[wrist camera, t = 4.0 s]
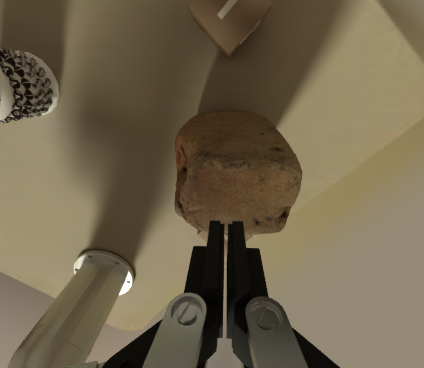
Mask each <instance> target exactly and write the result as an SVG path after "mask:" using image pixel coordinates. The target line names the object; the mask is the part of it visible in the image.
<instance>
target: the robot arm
mask: <svg viewBox="0 0 424 368" xmlns="http://www.w3.org/2000/svg"><path fill="white" fill-rule="evenodd" d="M224 232H225V224H221V221H216V220H210V224H209V232H208V240H207V246H194V247H193V250H192V255H191V260H190V265H189V270H188V275H187V280H186V285H185V290H184V293H183V294H180V295H178V296H176V297H175V298H174V299H173V300H172V301H171V302H170V304H169V306H168V308H167V310H166V313H165V315H164V318H163V319H162V320H160V321H159V322H158V323H156V324H155V325H154V326H152V327H151V328H150V329H148V330H147V331H146V332H144V333H143V334H142V335H140V336H139V337H138V338H136V339H135V340H134V341H132V342H131V343H129V344H128V345H127V346H126V347H124V348H123V349H121V350H120V351H119V352H117V353H116V354H115V355H113V356H112V357H111V358H110V359H109V360H108V361H107V362H104V363H99V364H98V362H97V361H94V362H89V363H85V361H86V359H87V357H88V356H89V354H90V352H91V350H92V348H93V346H94V344H95V341H96V339H97V338H98V336H99V334H100V331H101V330H102V328H103V326H104V324H105V322H106V320H107V318H108V316H109V314H110V312H111V310H112V308H113V306H114V304H115V302H116V300H117V298H118V296H119V295H121V294H124V293H125V292H127V291H128V290H129V289H130V288H131V286H132V284H133V281H134V274H133V271H132V268H131V267H130V266H129V264H128V263H127V262H126V261H125V260H124V259H122V258H121V257H119V256H117V255H116V254H113V253H111V252H107V251H102V250H91V251H87V252H85V253H83V254H82V255H80V256H79V257H78V259H77V260H76V261H75V263H74V267H73V269H74V274H75V275H74V276H73V278H72V279H71V280H70V281H69V283H68V284H67V285H66V287H65V288H64V289H63V290H62V292H61V293H60V294H59V296H58V297H57V298H56V299H55V301H54V302H53V303H52V305H51V306H50V307H49V309H48V310H47V311H46V312H45V314H44V315H43V316H42V317H41V319H40V320H39V321H38V323H37V324H36V325H35V326H34V328H33V329H32V330H31V332H30V333H29V334H28V335H27V337H26V338H25V340H23V342H22V343H21V345H20V346H19V347H18V348H17V350H16V351H15V353H14V354H13V356H12V358H11V360H10V362H9V365H8V368H207V363H208V359H209V358H210V357H211V356H212V355H213V354H214V353H215V352H216V348H217V338H222V336H223V335H222V334H223V289H224V287H223V286H224ZM227 338H229V339H232V348H233V353H234V354H235V355H236V356H237V357H238V358H239V359H240V361H241V367H242V368H340V367H339V366H338V365H336V364H335V363H334V362H333V361H332V360H330V359H329V358H328V357H327V356H326V355H324V354H323V353H322V352H321V351H320V350H318V349H317V348H316V347H315V346H314V345H313V344H311V343H310V342H309V341H308V340H306V339H305V338H304V337H303V336H302V335H300V334H299V333H298V332H297V331H296V330H295V329H293V328H292V327H291V325H290V322H289V320H288V317H287V315H286V313H285V311H284V309H283V307H282V306H281V305H280V304H279V303H278V302H277V301H275V300H273V299H272V298H269V297H268V293H267V288H266V281H265V276H264V271H263V266H262V260H261V255H260V250H259V249H258V248H246V242H245V234H244V225H243V221H232V224H228V242H227Z"/></svg>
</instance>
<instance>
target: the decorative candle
mask: <svg viewBox="0 0 424 368" xmlns="http://www.w3.org/2000/svg"><path fill="white" fill-rule="evenodd" d="M8 52H9V53H7V52H6V50H4V49H3V48H1V47H0V122H3V123H8V122H10V121H11V120H12V119H13V120H15V121H18V120H20V119H23V118H25V119H29V118H32V117H39V116H41V115H44V114H48V113H51V112H52V111H53V110H54V109H55V108H56V107H57V106H58V102H59V98H60V91H59V85H58V82H57V80H56V78H55V76H54V74H53V72H52V70H51V69H50V68H49V67H48V66H47V65H46V64H45V62H44V61H43V60H42V59H40V58H38V57H36V56H35V55H33V54H31V53H29V52H22V51H14V50H13V49H9V51H8Z"/></svg>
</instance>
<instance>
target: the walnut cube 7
mask: <svg viewBox="0 0 424 368" xmlns="http://www.w3.org/2000/svg"><path fill="white" fill-rule="evenodd" d="M273 4H274V3H273V2H272V1H271V0H191V1H190V3H189V4H188V5H187V8H188V9H189V11H190V13H191V15H192V17H193V18H194V20H195V22H196V23H197V24H198V25H199V26H200V27H201V28H202V30H203V31H204V32H205V33H206V34H207V35H208V37H209V38H210V39H211V40H212V41H213V42H214V43H215V45H216V46H217V47H218V48H219V49H220V50H221V52H222V53H223V54H224V55H225V56H226V57H227V58H228V59H229V58H230V57H231V56H232V55H233V54H234V53H235V51H236V50H237V49H238V48H239V47H240V46H241V45H242V43H243V42H244V41H245V40H246V39H247V38H248V37H249V36H250V34H251V33H253V32H254V31H255V30H256V29H257V27H258V25H259V24H260V23H261V22H262V21H263V20H264V18H265V17H266V15H267V13H268V12H269V10H270V9H271V7H272V5H273Z"/></svg>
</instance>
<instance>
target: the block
mask: <svg viewBox="0 0 424 368" xmlns="http://www.w3.org/2000/svg"><path fill="white" fill-rule="evenodd" d="M175 151H176V167H177V182H176V192H175V211H176V213H177V214H178V215H179V216H181V217H183V218H184V219H185V221H186V222H187V223H189V224H190V225H192V226H193V227H194V228H196V229H197V230H201V231H207V232H209V224H210V220H216V221H221V224H225V232H224V233H227V234H228V224H232V221H243V225H244V234H245V235H252V234H268V233H276V232H280V231H281V230H282V229H283V228H284V226H285V224H286V221H287V218H288V216H289V212H290V209H291V207H292V206H293V204H294V203H295V201H296V198H297V196H298V194H299V191H300V186H301V179H302V170H301V167H300V164H299V161H298V159H297V157H296V154H295V153H294V152H293V150H292V149H291V147H290V145H289V144H288V143H287V141H286V140H285V139H284V137H283V136H282V135H281V134H280V132H279V131H278V130H277V129H276V128H275V126H273V125H272V124H271V123H270V122H269V121H268V120H267V119H266V118H264V117H262V116H260V115H256V114H253V113H251V112H243V111H218V112H211V113H203V114H199V115H196V116H194V117H193V118H191V119H190V120H189V121H188V122H187V123H186V124H185V125H184V126H183V127H182V128H181V129H180V131H179V132H178V134H177V137H176V141H175Z"/></svg>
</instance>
